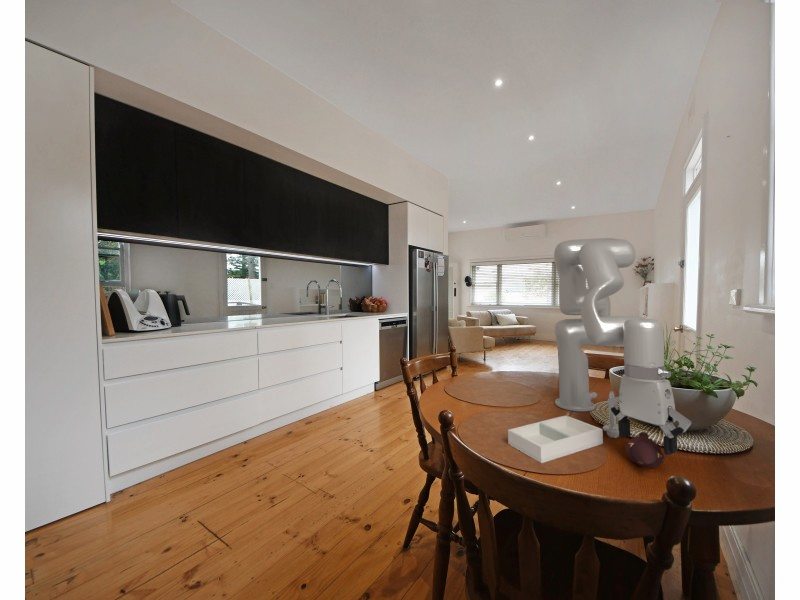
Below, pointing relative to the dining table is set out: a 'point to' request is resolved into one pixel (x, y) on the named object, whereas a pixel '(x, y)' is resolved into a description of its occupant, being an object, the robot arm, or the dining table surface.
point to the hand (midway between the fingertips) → (646, 444)
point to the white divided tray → (554, 438)
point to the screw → (611, 422)
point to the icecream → (644, 451)
